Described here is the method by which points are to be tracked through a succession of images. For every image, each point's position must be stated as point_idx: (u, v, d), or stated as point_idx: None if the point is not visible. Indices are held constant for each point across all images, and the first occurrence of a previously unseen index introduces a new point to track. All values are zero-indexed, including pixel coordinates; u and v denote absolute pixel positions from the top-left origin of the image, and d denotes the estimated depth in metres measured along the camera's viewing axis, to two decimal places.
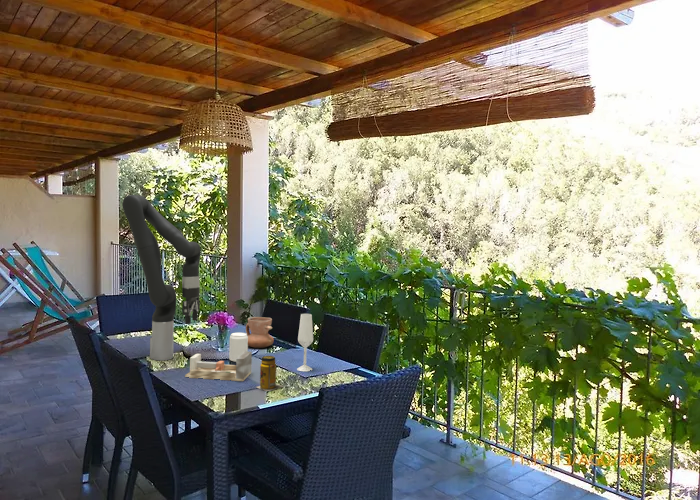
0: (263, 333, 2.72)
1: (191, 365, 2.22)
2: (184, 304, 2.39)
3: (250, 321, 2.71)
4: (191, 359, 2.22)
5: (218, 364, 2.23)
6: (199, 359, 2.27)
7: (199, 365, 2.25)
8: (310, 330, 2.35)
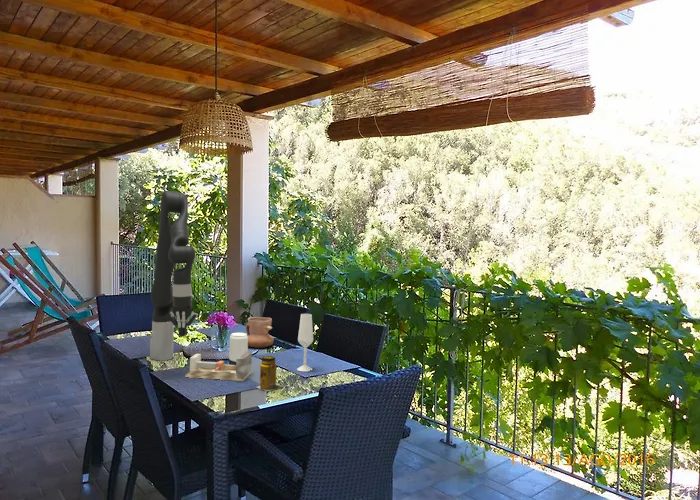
0: (263, 333, 2.72)
1: (191, 365, 2.22)
2: (195, 317, 2.25)
3: (250, 321, 2.71)
4: (191, 359, 2.22)
5: (218, 364, 2.23)
6: (199, 359, 2.27)
7: (199, 365, 2.25)
8: (310, 330, 2.35)
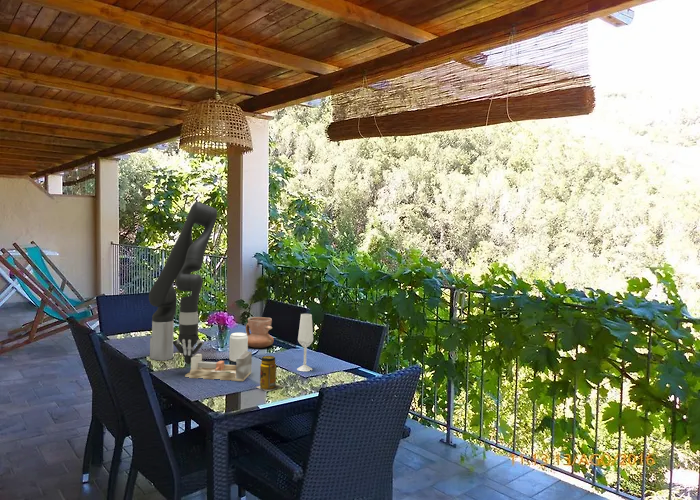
0: (263, 333, 2.72)
1: (192, 365, 2.22)
2: (201, 345, 2.25)
3: (250, 321, 2.71)
4: (192, 359, 2.22)
5: (218, 364, 2.23)
6: (200, 359, 2.27)
7: (200, 365, 2.25)
8: (310, 330, 2.35)
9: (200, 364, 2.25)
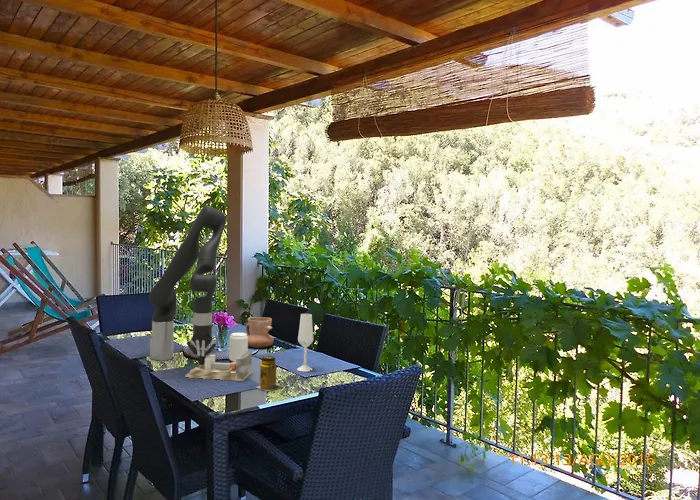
0: (263, 333, 2.72)
1: (206, 366, 2.22)
2: (214, 346, 2.24)
3: (250, 321, 2.71)
4: (206, 360, 2.22)
5: (232, 365, 2.22)
6: (213, 360, 2.27)
7: (214, 366, 2.24)
8: (310, 330, 2.35)
9: (214, 365, 2.24)
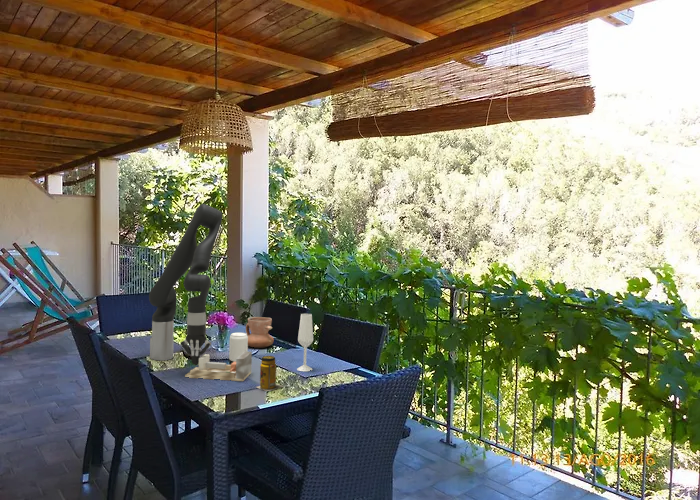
0: (263, 333, 2.72)
1: (200, 365, 2.22)
2: (208, 346, 2.24)
3: (250, 321, 2.71)
4: (200, 360, 2.22)
5: (233, 365, 2.22)
6: (208, 360, 2.27)
7: (208, 366, 2.24)
8: (310, 330, 2.35)
9: (208, 364, 2.24)
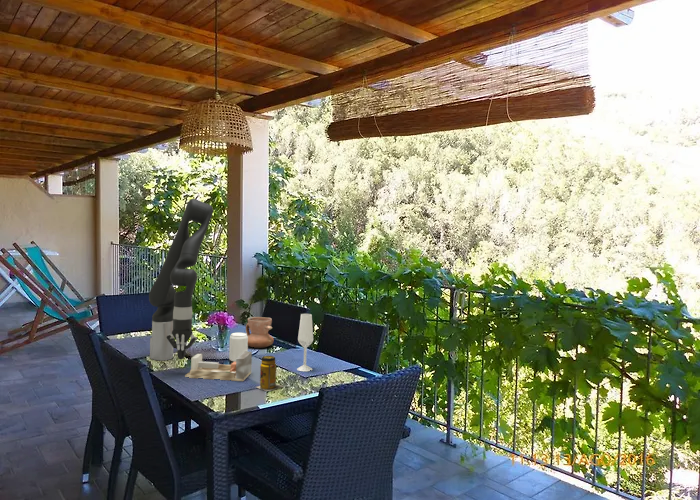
0: (263, 333, 2.72)
1: (193, 365, 2.22)
2: (194, 341, 2.24)
3: (250, 321, 2.71)
4: (192, 359, 2.22)
5: (233, 365, 2.22)
6: (200, 359, 2.27)
7: (200, 365, 2.25)
8: (310, 330, 2.35)
9: (200, 364, 2.25)
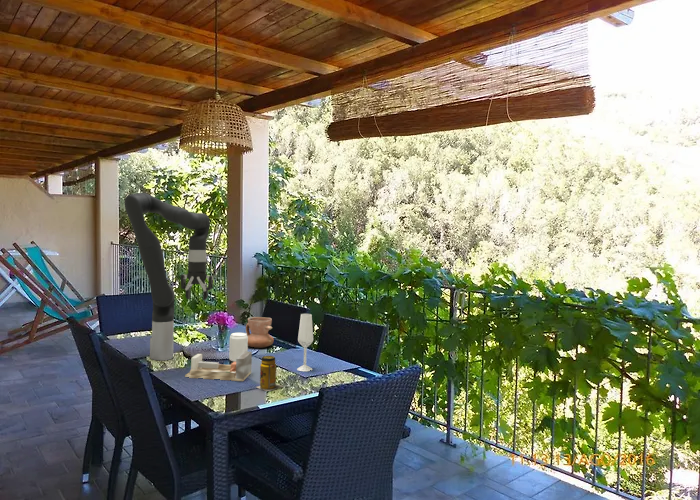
0: (263, 333, 2.72)
1: (193, 365, 2.22)
2: (212, 279, 2.31)
3: (250, 321, 2.71)
4: (192, 359, 2.22)
5: (233, 365, 2.22)
6: (200, 359, 2.27)
7: (200, 365, 2.25)
8: (310, 330, 2.35)
9: (200, 364, 2.25)
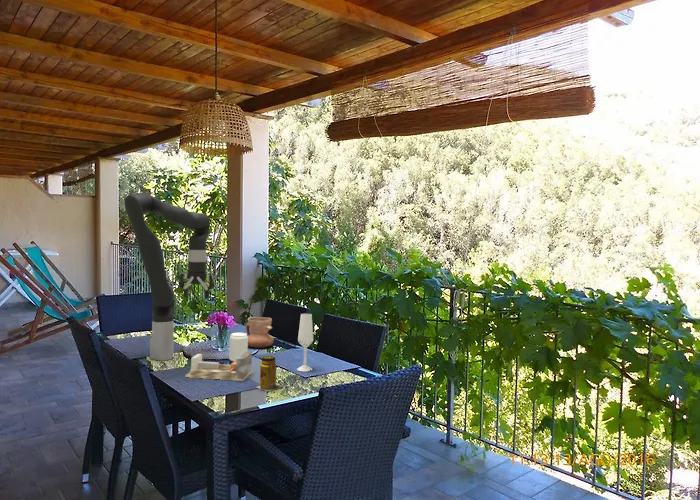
0: (263, 333, 2.72)
1: (193, 365, 2.22)
2: (212, 277, 2.31)
3: (250, 321, 2.71)
4: (192, 359, 2.22)
5: (233, 365, 2.22)
6: (200, 359, 2.27)
7: (200, 365, 2.25)
8: (310, 330, 2.35)
9: (200, 364, 2.25)
